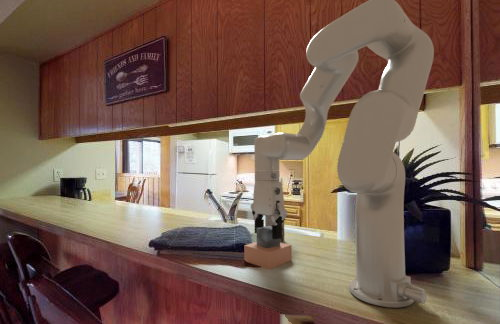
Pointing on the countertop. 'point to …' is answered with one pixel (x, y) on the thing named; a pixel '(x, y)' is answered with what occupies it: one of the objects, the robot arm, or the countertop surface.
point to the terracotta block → (267, 255)
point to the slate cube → (266, 237)
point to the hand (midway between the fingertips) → (267, 235)
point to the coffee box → (269, 223)
